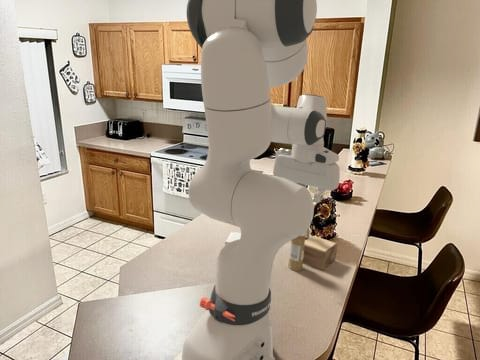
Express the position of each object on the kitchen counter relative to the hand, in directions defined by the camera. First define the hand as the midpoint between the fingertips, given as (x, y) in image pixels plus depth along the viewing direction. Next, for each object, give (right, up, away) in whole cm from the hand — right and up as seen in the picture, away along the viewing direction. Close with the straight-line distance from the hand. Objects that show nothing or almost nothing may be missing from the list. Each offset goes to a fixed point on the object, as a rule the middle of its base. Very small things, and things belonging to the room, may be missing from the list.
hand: (302, 198), depth 107 cm
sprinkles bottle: (-1, -22, +6) cm, 23 cm away
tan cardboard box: (+7, -21, +11) cm, 25 cm away
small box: (-20, -22, +3) cm, 30 cm away
